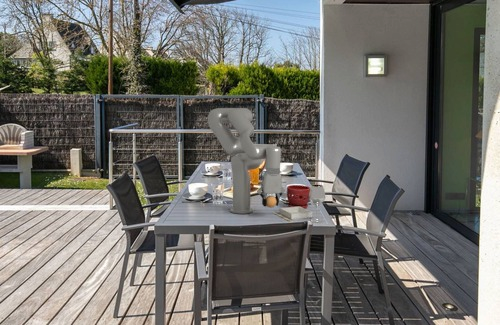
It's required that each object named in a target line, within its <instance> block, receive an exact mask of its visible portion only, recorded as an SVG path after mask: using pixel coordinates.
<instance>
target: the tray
mask: <svg viewBox="0 0 500 325" xmlns="http://www.w3.org/2000/svg"><path fill="white" fill-rule="evenodd" d="M278 214H280V215H282V216H284V217H286V218H288V219H290V220H292V221H293V220H294V221H295V220H302V219H312V218H313V211H311V210H309V209H307V208H305V209H304V208H302V207H300V206H299V207H288V206H287V207H280V208H279V212H278Z"/></svg>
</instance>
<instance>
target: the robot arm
mask: <svg viewBox="0 0 500 325" xmlns="http://www.w3.org/2000/svg"><path fill="white" fill-rule="evenodd" d="M253 116H254V115H253V112H252V111H251V110H250V109H249V108H247V107H241V108H240V107H236V108H235V107H219V108H217V107H216V108H214V109H212V110H210V111H209V112H208V116H207V122H208V126H209V129H210V131H211V132H212V133H213V134H214V135H215V137H216V138H217V139H218V142H219V143H220V145H221V147H222V148H223V150H224V151H225V153H226V154H228V155H229V156H232V157H231V159H230V166H231V167H230V168H231V171H232V207H231V208H229V212H230V213H232V214H241V215H242V214H243V215H246V214H251V213H253V212H254V209H253V208H252V207H251V175H250V174H249V171H250V170H256V169H258V168H259V167H260V165H261V164H262V161H261V160H264V159H265V161H264V162H265V163H264V164H265V165H264V168H262V172H263V175H262V178H261V186H260V187H259V188H258V189H257V190H256V192H257V194H259V196H260V197H261V198H262V200H261V201H262V202H261V203H262V206H263V207H266V208H267V206H266V204H267V199H266V197H268V195H270V194H271V195H275V196H274V197H275V198H276V205H275V206H277V207H278V206H279V202H280V198H281V196H282V195H283V194H285V192H286V189H285V188H284V187H283V178H282V174H281V155H282V149H281V147H280V146H276V145H275V146H273V145H271V144H267V143H262V144H254V143H253V141H252V139H251V138H250V137H251V136H252V135H253V133H254V132H255V127H254V125H253V124H252V123H251V122H252V120H253ZM225 124H231V126H232V127H233V128H234V129H235V131H236V132H237V133H238V135H239V136H238V137H237V136H235V135H234V132H232V130H231V129H230V128H229V127H228V126H227V125H225Z"/></svg>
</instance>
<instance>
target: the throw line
mask: <svg viewBox="0 0 500 325" xmlns="http://www.w3.org/2000/svg"><path fill="white" fill-rule="evenodd" d="M273 214H274V215H276V216H278V217H280V218H282V219H283V220H286V221H287V222H288V223H293V222H294V221H293V220H291V219H289V218H287V217H285V216H283V215H281V214H279V212H278V213H277V212H273Z"/></svg>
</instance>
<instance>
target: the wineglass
mask: <svg viewBox="0 0 500 325" xmlns="http://www.w3.org/2000/svg"><path fill="white" fill-rule="evenodd" d="M325 200H326V192H325V187H324V185H322V184H312V185H311V186H310V193H309V201H310V202H311V203H312V204H313V205H314V206H315V218H313V219H312V218H310V220H311V221H312V222H311V221H310V222H311V223H315V222H320V223H323V222H322V221H323V219H320V218H318V213H319V212H318V208H319V206H320V205H322V203H324V202H325Z"/></svg>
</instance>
